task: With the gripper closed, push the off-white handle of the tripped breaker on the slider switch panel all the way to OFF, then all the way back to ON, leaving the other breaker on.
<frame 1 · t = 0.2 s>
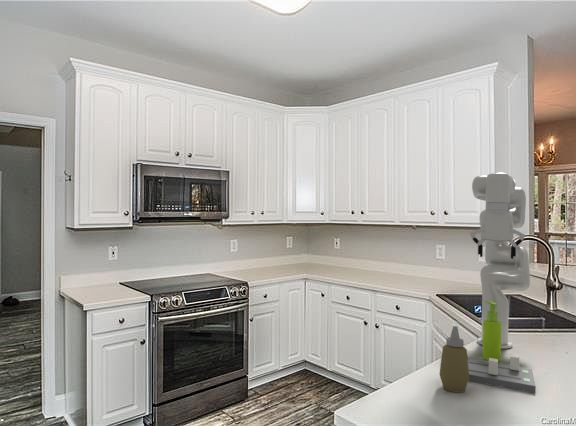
hand: (496, 257, 146), 36 cm above the countertop, tool pointing down, fingers open, 9 cm apart
soap dispenser: (490, 358, 150), on the countertop
breaker on: (514, 362, 133), point 4 cm above the countertop, slide at 12.0 cm
squeeze bottle: (453, 389, 122), on the countertop
slider switch panel: (493, 376, 132), on the countertop
breaker tripped: (493, 366, 129), point 4 cm above the countertop, slide at 6.0 cm
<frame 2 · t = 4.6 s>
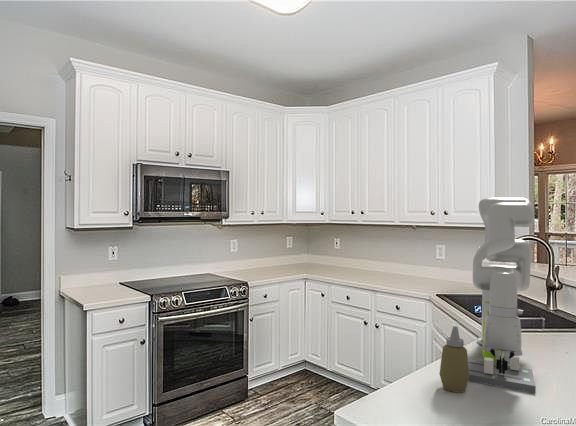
hand: (501, 372, 128), 3 cm above the countertop, tool pointing down, fingers closed
breaker tripped: (488, 365, 129), point 4 cm above the countertop, slide at 4.7 cm, touching gripper
everything else where it was.
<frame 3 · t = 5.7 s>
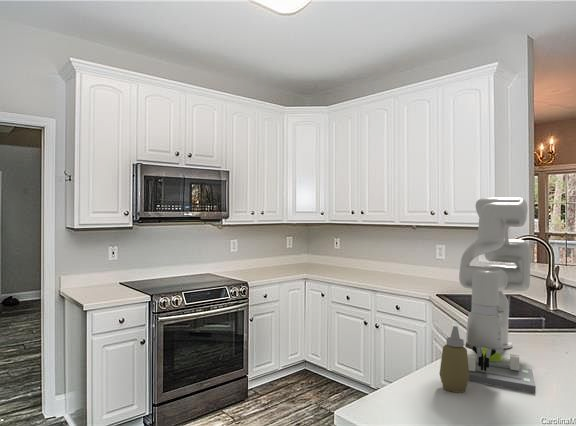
hand: (483, 369, 130), 3 cm above the countertop, tool pointing down, fingers closed
breaker tripped: (471, 362, 131), point 4 cm above the countertop, slide at -0.2 cm, touching gripper
everything else where it was.
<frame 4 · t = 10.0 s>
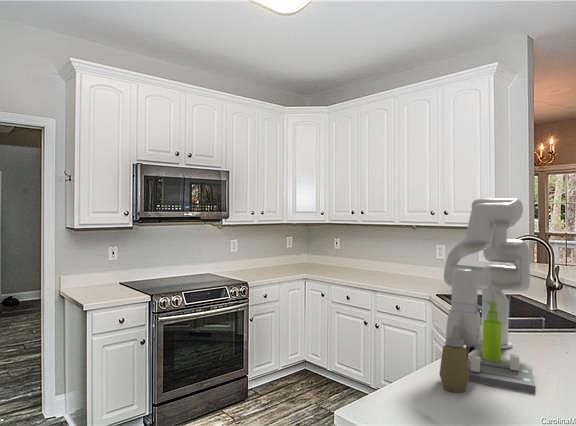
hand: (462, 365, 133), 3 cm above the countertop, tool pointing down, fingers closed
breaker tripped: (475, 363, 131), point 4 cm above the countertop, slide at 1.0 cm, touching gripper
everything else where it was.
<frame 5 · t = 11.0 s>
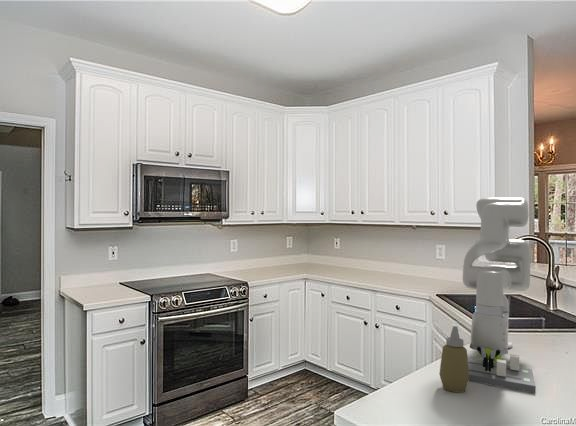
hand: (488, 369, 129), 3 cm above the countertop, tool pointing down, fingers closed
breaker tripped: (501, 367, 128), point 4 cm above the countertop, slide at 8.2 cm, touching gripper
everything else where it was.
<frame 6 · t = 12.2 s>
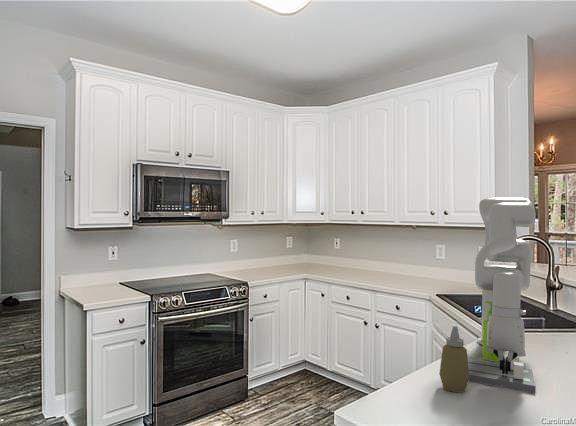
hand: (505, 372, 127), 3 cm above the countertop, tool pointing down, fingers closed
breaker tripped: (518, 370, 126), point 4 cm above the countertop, slide at 12.8 cm, touching gripper
everything else where it was.
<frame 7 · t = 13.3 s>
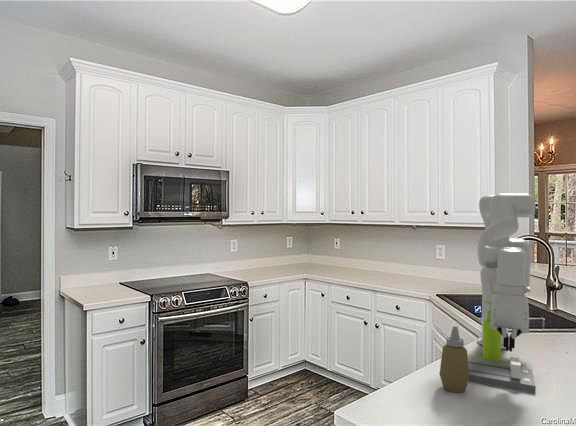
hand: (508, 349, 128), 10 cm above the countertop, tool pointing down, fingers closed
breaker tripped: (515, 370, 126), point 4 cm above the countertop, slide at 12.1 cm
everything else where it was.
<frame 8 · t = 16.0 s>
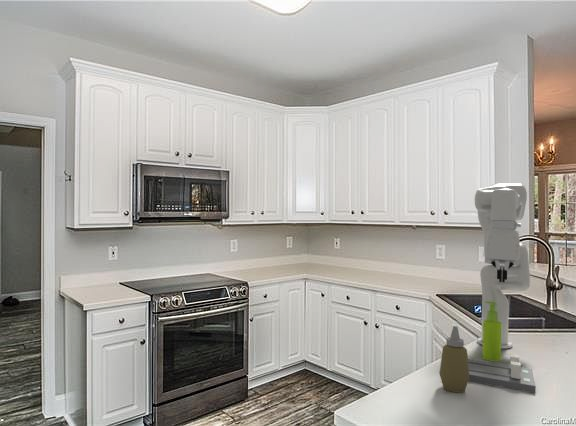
hand: (501, 281, 139), 29 cm above the countertop, tool pointing down, fingers closed
nothing on the countertop moved.
at the end: breaker tripped slide at 12.1 cm; breaker on slide at 12.0 cm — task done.
